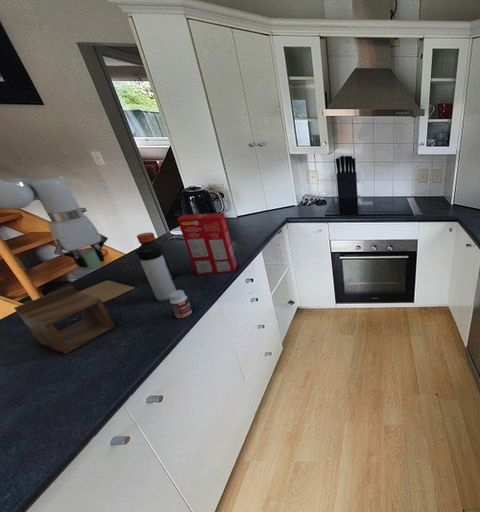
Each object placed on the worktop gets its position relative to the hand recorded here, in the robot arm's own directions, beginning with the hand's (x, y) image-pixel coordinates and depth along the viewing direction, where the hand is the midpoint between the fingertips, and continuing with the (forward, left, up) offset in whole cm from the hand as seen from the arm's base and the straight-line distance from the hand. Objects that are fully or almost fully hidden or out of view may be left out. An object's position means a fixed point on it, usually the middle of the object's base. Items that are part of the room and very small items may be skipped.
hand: (92, 263), depth 98 cm
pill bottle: (+40, 0, -12) cm, 42 cm away
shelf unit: (+20, -18, -12) cm, 29 cm away
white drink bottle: (+12, +13, -12) cm, 21 cm away
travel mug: (+25, +5, -12) cm, 28 cm away
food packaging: (+26, +26, -12) cm, 39 cm away
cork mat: (0, 0, -12) cm, 12 cm away
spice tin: (0, 0, -2) cm, 2 cm away
